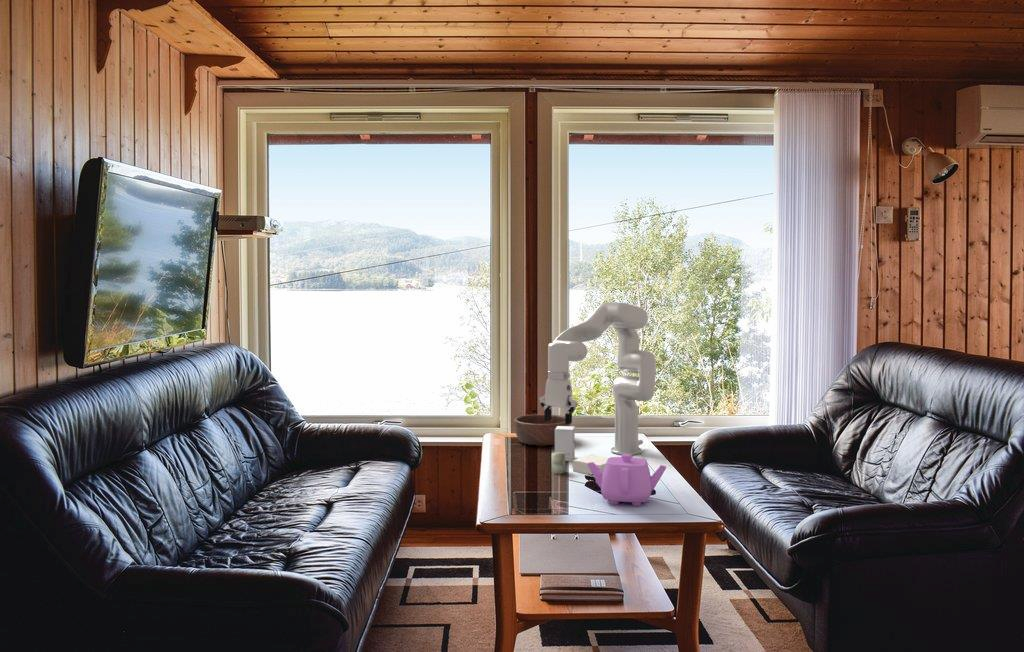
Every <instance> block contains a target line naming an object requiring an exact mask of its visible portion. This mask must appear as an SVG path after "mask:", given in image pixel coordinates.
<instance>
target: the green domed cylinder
mask: <svg viewBox="0 0 1024 652" xmlns="http://www.w3.org/2000/svg"><path fill="white" fill-rule="evenodd" d="M551 473H552V474H554V473H555V475H561V474H562V473H563V474H565V473H566V461H565V453H563V452H555V451H554V452H551Z"/></svg>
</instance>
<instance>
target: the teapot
mask: <svg viewBox="0 0 1024 652" xmlns="http://www.w3.org/2000/svg"><path fill="white" fill-rule="evenodd" d="M608 458H609V459H608V460H607V462H606V465H605V468H604V472H603V473H602V472H601V471H600V470H599V468H598V467H597V466H596V465H595V464H594V462H590V463H588V467H589V468H590V470H591V472H592V474H593V475H592V476H593V478H594V479H595V482H596V483H597V485H598V487H599V488H600V492H601V496H602V498H603V500H605V501H609V505H615V506H616V505H619V504H620V502H623V503H631V504H632V506H634V507H641V506H642V505H643V504H642V503H646V502H648V501H649V499H650V497H651V495H652V491H654V489H655V488H656V486H657V484H658V483H659V481H660V480H661V478H662V476H663V474H664V473H665V471H666V469H667V465H661V464H660V465H659V467H658V468H657V469H656V470H655V472H654V473H652V475H651V471H650V468H649V467H650V466H649V463H648V461H647V459H645V458H640V457H639V458H638V457H634V455H631V454H622V455H621V456H612V457H611V456H610V457H608Z"/></svg>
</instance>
